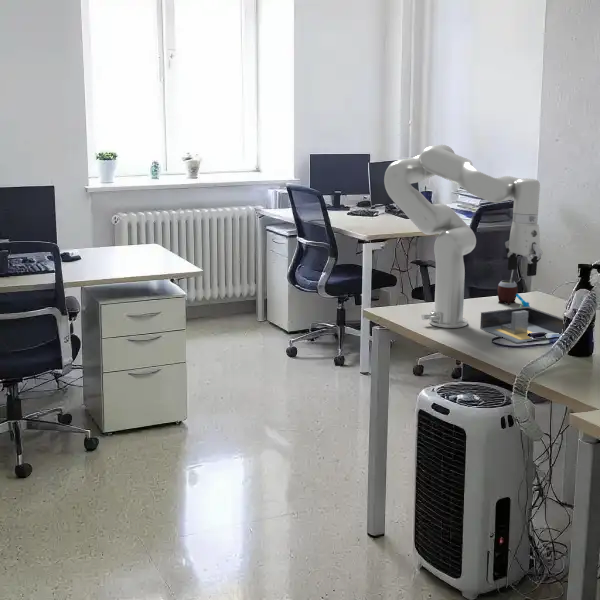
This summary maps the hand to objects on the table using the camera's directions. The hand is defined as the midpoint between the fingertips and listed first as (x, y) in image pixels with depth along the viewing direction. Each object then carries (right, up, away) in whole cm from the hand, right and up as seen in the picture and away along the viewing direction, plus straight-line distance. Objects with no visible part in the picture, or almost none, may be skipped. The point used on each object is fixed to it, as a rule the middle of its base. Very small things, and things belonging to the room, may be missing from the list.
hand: (521, 272), depth 287 cm
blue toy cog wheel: (+8, -14, +29) cm, 34 cm away
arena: (+2, -19, +6) cm, 20 cm away
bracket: (-1, -19, +7) cm, 20 cm away
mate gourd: (+6, -10, +46) cm, 48 cm away
